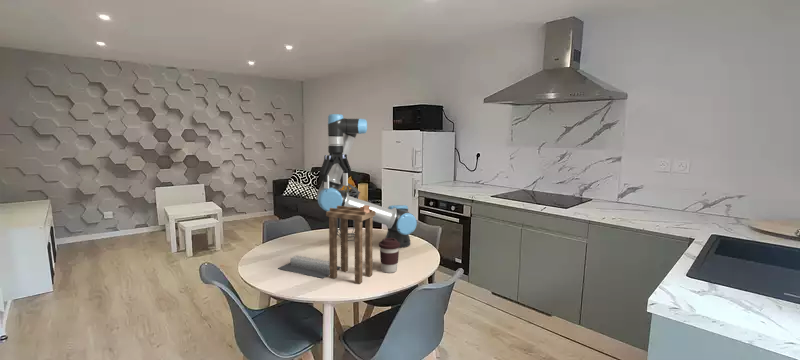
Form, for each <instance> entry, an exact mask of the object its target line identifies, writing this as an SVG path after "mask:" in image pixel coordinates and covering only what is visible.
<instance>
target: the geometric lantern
mask: <svg viewBox="0 0 800 360" xmlns="http://www.w3.org/2000/svg"><path fill="white" fill-rule="evenodd" d="M339 190H342V191H345V192H347V193H348V195H349V196H351V197H354V196H356V197H355V198H357V199H359V196H360V193H361V192H360V191H359V190H358V188H357V187H355V186H353V185H352V184H350V183H349V182H348V186H345V185H343V183H341V184H340V187H339ZM350 191H351V192H350ZM353 192H354V193H353ZM352 221H353V224H352V225H353V227H351V228H350V227H348V230H352V232H348V242H350V241H355V220H352ZM337 237H339V238H340V239H341V218H337ZM349 238H353V239H349Z"/></svg>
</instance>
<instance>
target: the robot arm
mask: <svg viewBox="0 0 800 360" xmlns="http://www.w3.org/2000/svg"><path fill="white" fill-rule="evenodd" d="M327 119H328V120H327V137H328V138H327V141H328V143H327V144H328V148H327V149H328V150H327V151H328V153H329V154H328V155H327V154H326V155H324V157H323V162H322V165H321V168H320V171H319V174H320V175H321V176H322V181H321V184H320V186H319V189H318V190H317V193H316V199H317V204H318V206H319V207H320V208H321V209H322V210H323V211H325V212H328V211H330V208H337V206H347V207H356V208H360V207H362V206H364V205H369V206H370V209H373V211H376V215H375V216H373V222H375V223H379V224H382V225H385V226H386V228H387V232H386V235H385V238H394V239H396V240H397V241H398V242H400V247H399V249H401V248H402V247H403V248H407V247H409V246H411V237H410V234H412V233H414V231H415V230H416V229H417V225H418V224H417V223H418V221H417V219H416V217H415V216H414V215H413V214H412V213H411V212H410V211H409V207H408V206H409V205H406V204H405V205H404V204H392V205H389V206H388V207H384V206H382V205H378V204H376V203H373V202H369V201H366V200H363V199H359V198H356V197H354V196H353V197H351V196H352V195H348V192H347V191H342V190H343V189H341V190H340V189H339V188H340V185H341V184H343V185H344V187H345V186H348V183H349V182H348V179H349V174H350V173H351V172H352V168H351V166H350V163H349V160H348V159H349V156H350V154H351V151H352V148H353V145H354V142H355V139H356V137H357V135H362V134H364V135H365V134H366V133H367V131H368V121H367V120H366V118H344V115H343V114H340V113H339V114H338V113H332V114H328V117H327ZM341 179H342V183H341ZM348 187H349V186H348Z"/></svg>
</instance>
